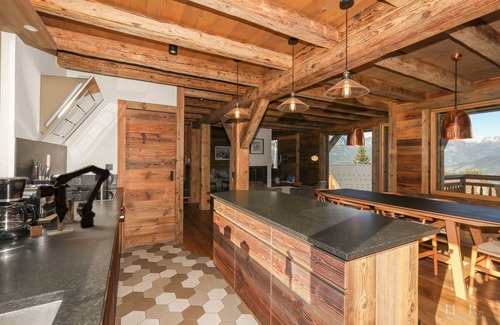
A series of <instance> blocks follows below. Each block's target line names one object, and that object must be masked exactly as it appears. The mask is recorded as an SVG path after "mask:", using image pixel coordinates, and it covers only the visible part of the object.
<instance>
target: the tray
mask: <svg viewBox="0 0 500 325" xmlns="http://www.w3.org/2000/svg"><path fill="white" fill-rule="evenodd" d="M74 232H75V229H74V227H65V228H64V227H63V231H58V229H53V230H47V231H46V235H47V237H51V236H56V235H62V234H69V233H74Z"/></svg>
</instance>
